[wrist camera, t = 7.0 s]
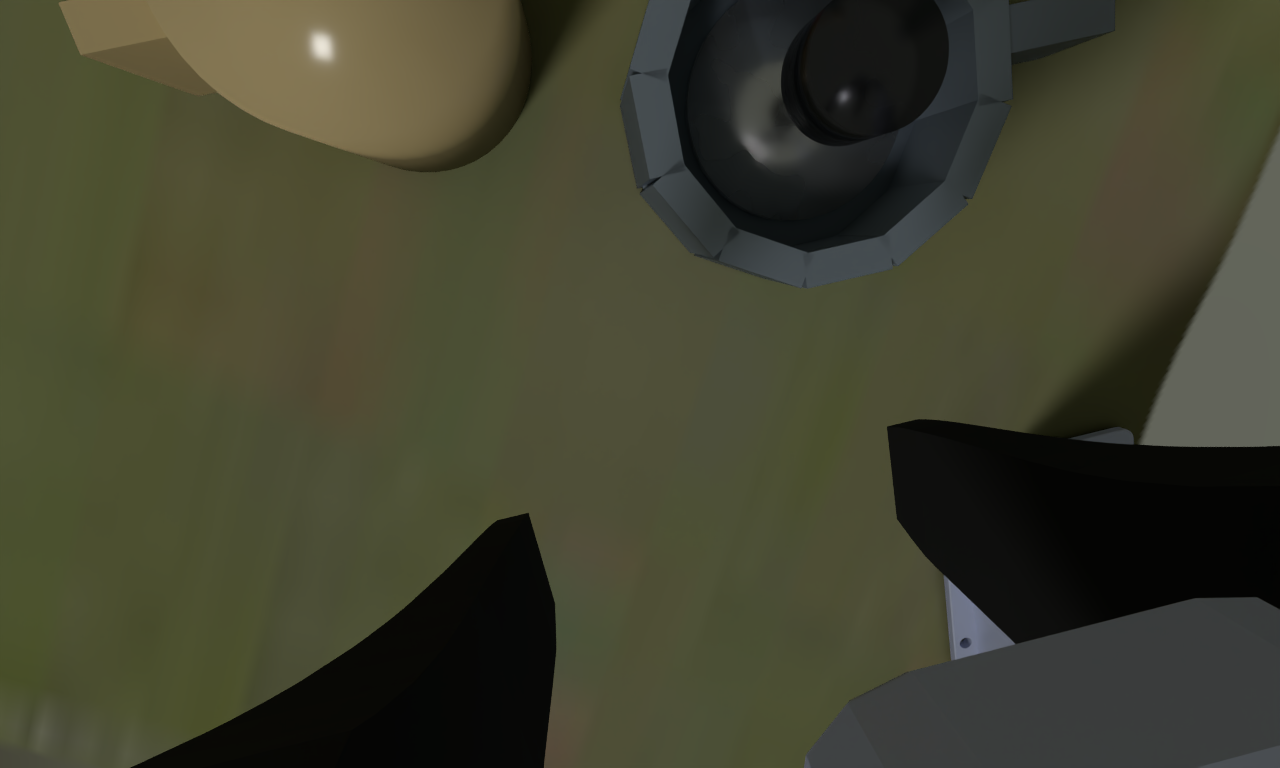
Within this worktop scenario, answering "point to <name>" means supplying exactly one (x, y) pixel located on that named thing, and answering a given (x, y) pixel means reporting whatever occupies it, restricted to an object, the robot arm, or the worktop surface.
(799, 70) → the plunger
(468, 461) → the worktop surface
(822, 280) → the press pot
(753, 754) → the worktop surface
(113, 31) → the beige rounded domed part
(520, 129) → the worktop surface
